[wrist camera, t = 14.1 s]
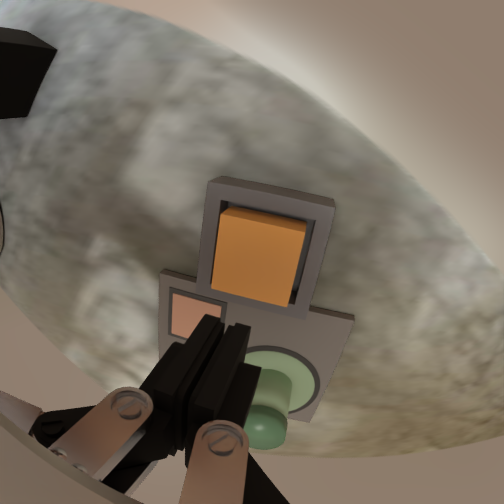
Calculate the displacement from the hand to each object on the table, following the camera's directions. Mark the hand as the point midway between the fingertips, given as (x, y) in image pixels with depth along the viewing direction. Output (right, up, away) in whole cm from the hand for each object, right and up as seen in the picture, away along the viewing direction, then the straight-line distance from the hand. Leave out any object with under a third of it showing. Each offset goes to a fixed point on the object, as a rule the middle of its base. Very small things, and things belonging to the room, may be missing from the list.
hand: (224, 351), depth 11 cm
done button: (+2, +4, +10) cm, 11 cm away
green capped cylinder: (+3, -8, +16) cm, 18 cm away
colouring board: (0, -6, +16) cm, 17 cm away
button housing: (+2, +4, +12) cm, 13 cm away
